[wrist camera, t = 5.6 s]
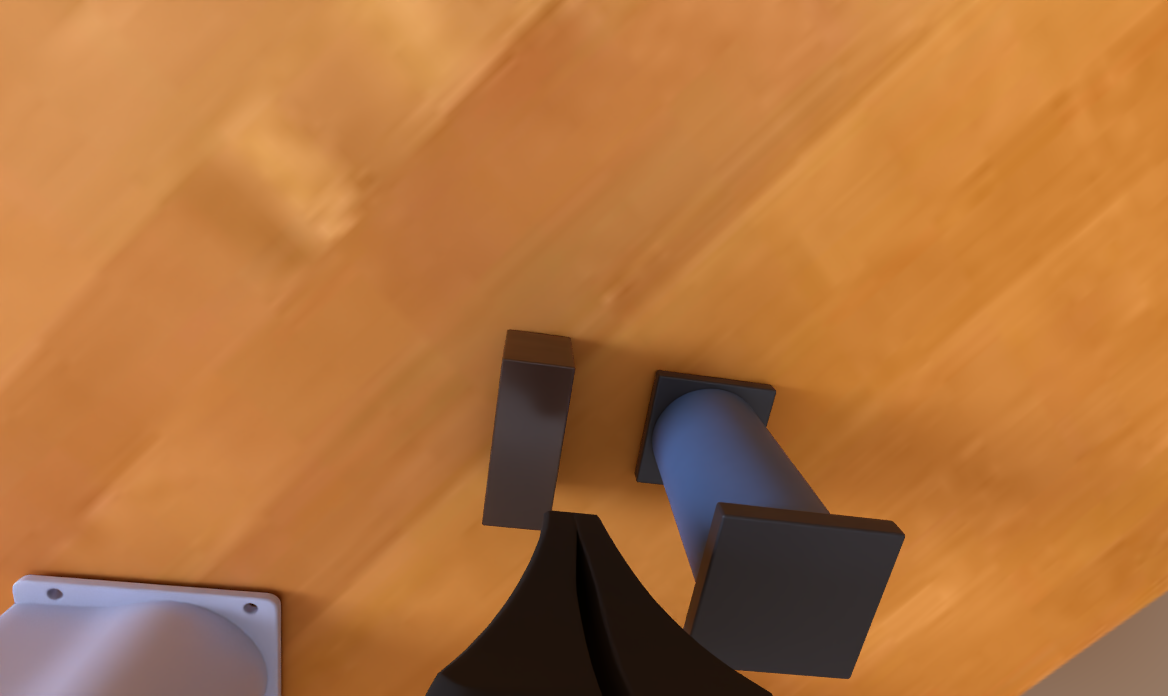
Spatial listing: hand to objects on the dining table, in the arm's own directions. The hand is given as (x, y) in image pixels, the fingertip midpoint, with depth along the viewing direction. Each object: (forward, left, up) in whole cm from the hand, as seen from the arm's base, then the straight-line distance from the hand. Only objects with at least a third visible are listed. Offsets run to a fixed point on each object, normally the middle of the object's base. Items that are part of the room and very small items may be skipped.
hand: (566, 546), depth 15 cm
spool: (+5, 0, -3) cm, 6 cm away
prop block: (-1, 0, -8) cm, 8 cm away
